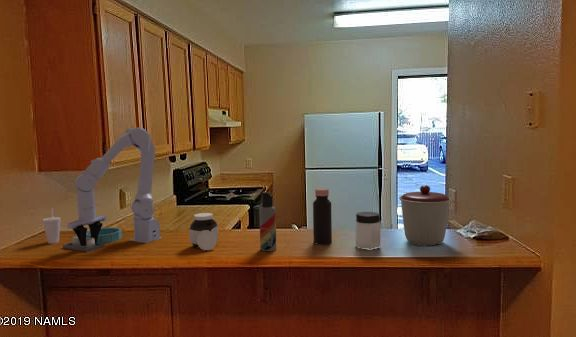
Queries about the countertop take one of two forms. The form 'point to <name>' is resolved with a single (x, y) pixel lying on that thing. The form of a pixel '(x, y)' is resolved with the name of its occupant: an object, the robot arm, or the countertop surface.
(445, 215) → the canister
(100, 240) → the bowl
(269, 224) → the lotion bottle
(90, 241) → the pale stone
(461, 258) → the countertop surface
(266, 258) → the countertop surface
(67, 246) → the parts tray
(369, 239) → the jar
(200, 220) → the spread jar
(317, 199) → the vinegar
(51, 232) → the smoothie
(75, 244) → the white pebble
